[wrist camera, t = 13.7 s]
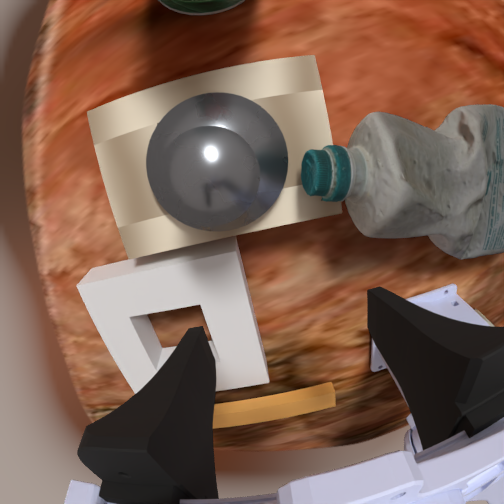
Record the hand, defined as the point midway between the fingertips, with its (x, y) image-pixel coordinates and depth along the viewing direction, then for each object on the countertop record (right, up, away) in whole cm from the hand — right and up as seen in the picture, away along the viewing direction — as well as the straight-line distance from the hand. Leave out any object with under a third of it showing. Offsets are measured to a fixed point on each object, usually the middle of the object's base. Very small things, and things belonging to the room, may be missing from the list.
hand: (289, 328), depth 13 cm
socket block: (-7, -2, +12) cm, 14 cm away
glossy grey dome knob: (-4, +9, +7) cm, 12 cm away
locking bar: (-2, -10, +11) cm, 15 cm away
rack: (-4, +10, +7) cm, 13 cm away
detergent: (+13, +10, +8) cm, 18 cm away
